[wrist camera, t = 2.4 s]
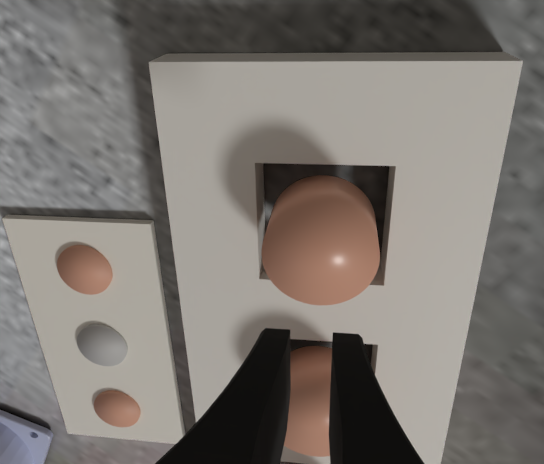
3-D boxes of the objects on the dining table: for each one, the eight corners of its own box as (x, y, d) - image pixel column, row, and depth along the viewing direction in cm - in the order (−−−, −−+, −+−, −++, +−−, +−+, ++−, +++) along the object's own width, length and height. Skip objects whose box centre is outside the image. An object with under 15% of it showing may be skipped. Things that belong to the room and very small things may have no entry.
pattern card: (186, 438, 28) (182, 447, 28) (71, 428, 29) (66, 436, 29) (153, 220, 22) (148, 226, 21) (7, 214, 23) (-1, 220, 22)
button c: (371, 270, 20) (375, 308, 17) (272, 266, 20) (263, 301, 18) (379, 176, 18) (384, 205, 16) (269, 173, 18) (259, 201, 16)
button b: (359, 414, 23) (361, 460, 21) (275, 407, 24) (268, 451, 22) (365, 349, 21) (367, 392, 19) (274, 342, 22) (266, 384, 20)
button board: (413, 539, 30) (418, 574, 28) (220, 517, 31) (212, 549, 30) (504, 51, 17) (522, 61, 15) (167, 53, 18) (148, 61, 17)
